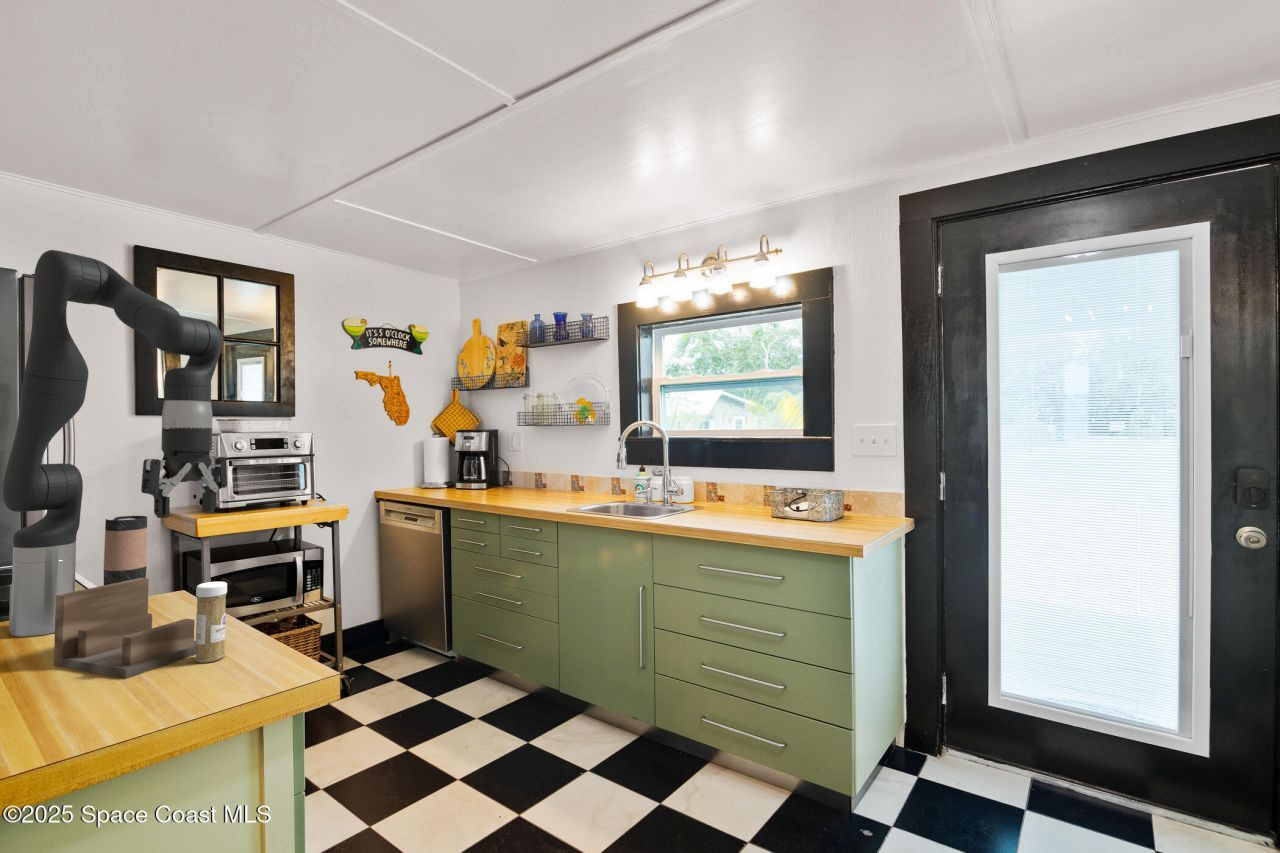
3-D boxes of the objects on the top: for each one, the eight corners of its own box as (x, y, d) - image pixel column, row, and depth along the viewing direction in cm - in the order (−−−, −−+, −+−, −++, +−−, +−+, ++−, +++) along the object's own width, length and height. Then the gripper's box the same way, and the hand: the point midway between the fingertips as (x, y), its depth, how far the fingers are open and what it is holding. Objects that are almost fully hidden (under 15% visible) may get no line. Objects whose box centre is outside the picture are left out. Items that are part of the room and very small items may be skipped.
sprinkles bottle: (225, 660, 112) (227, 584, 112) (193, 665, 109) (195, 588, 109) (225, 652, 115) (227, 579, 116) (194, 657, 113) (196, 582, 113)
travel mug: (148, 605, 145) (150, 518, 145) (105, 611, 139) (107, 521, 139) (142, 598, 150) (144, 514, 150) (100, 604, 144) (102, 517, 144)
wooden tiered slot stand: (53, 665, 108) (55, 595, 108) (139, 640, 121) (141, 577, 121) (126, 678, 103) (128, 605, 103) (206, 650, 116) (208, 585, 117)
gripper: (208, 426, 123) (207, 509, 123) (131, 425, 109) (129, 519, 109) (238, 426, 121) (237, 511, 121) (163, 425, 107) (162, 520, 107)
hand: (186, 514), depth 115 cm, fingers open, 8 cm apart
